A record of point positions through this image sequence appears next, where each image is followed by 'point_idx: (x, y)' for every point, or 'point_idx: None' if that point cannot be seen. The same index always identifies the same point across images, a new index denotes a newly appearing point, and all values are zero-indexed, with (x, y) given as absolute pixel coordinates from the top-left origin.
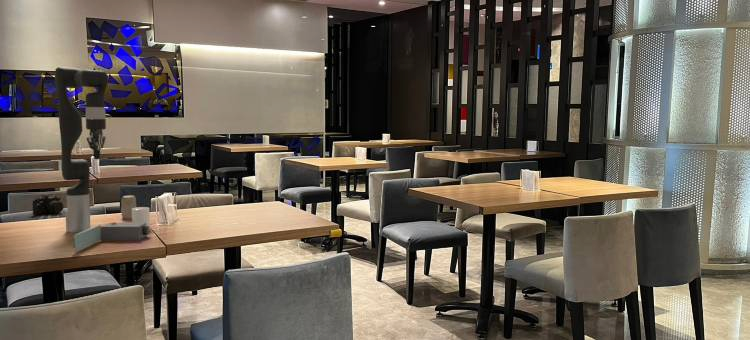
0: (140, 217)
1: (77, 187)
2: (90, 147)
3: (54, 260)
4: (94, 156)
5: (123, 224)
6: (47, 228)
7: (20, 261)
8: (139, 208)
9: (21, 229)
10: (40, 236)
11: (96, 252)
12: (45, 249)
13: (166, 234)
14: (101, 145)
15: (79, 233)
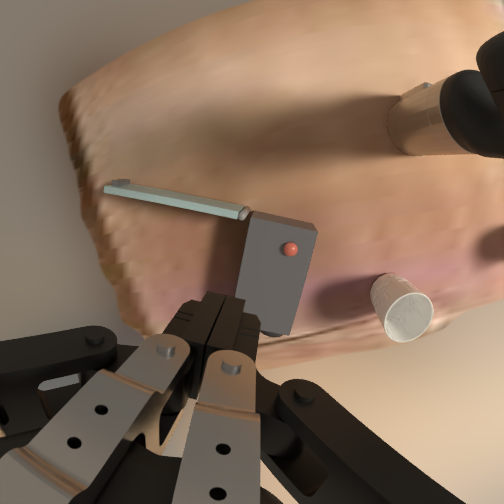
0: (377, 310)
1: (467, 108)
2: (66, 335)
3: (74, 165)
4: (181, 311)
5: (275, 279)
6: (446, 51)
7: (79, 103)
8: (430, 309)
9: (435, 4)
10: (346, 43)
11: (123, 229)
12: (172, 101)
13: (297, 356)
14: (267, 463)
15: (118, 193)
